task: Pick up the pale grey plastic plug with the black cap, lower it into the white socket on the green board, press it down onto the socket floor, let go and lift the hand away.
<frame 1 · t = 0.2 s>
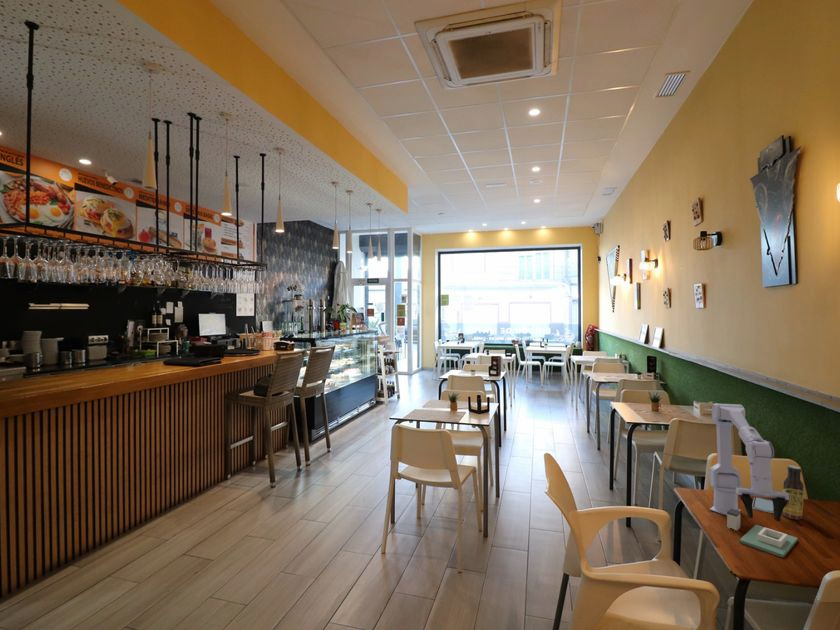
hand: (763, 519, 147), 10 cm above the table, tool pointing down, fingers open, 7 cm apart
plug: (733, 527, 162), on the table
sauce bottle: (792, 517, 171), on the table
smartphone: (764, 506, 182), on the table
socket board: (768, 541, 153), on the table
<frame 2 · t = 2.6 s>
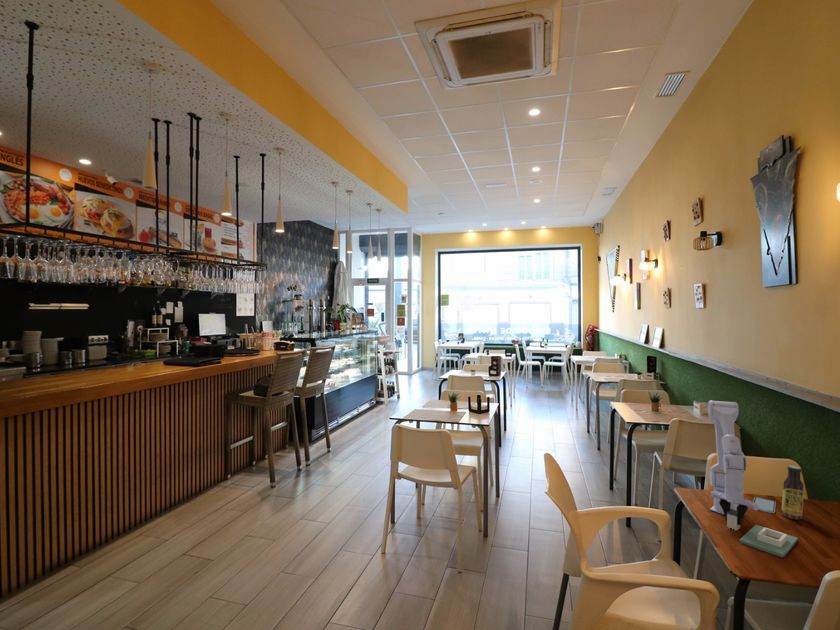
hand: (733, 522, 162), 2 cm above the table, tool pointing down, fingers closed on plug, 3 cm apart
plug: (733, 527, 162), on the table, touching gripper
everything else where it was.
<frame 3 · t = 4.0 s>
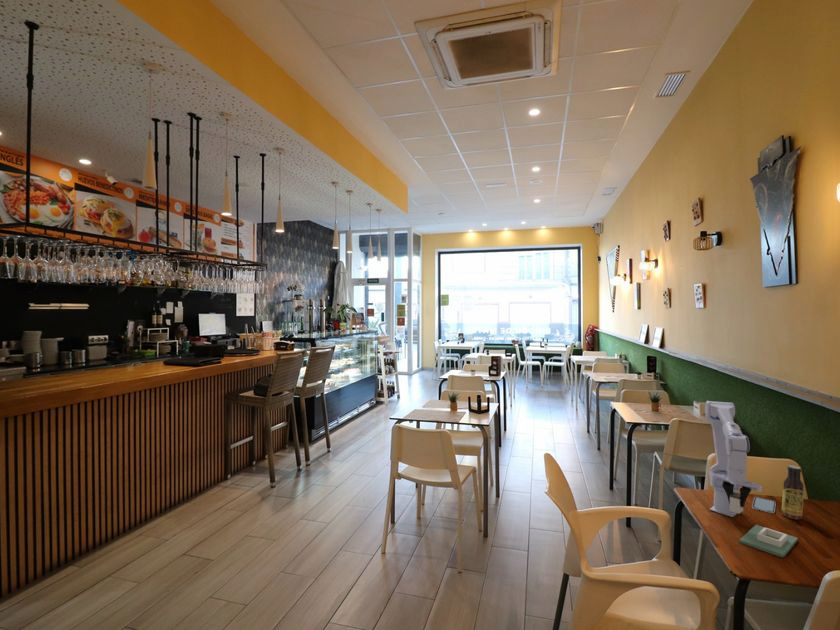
hand: (736, 504, 162), 9 cm above the table, tool pointing down, fingers closed on plug, 3 cm apart
plug: (736, 510, 161), point 7 cm above the table, touching gripper
everything else where it was.
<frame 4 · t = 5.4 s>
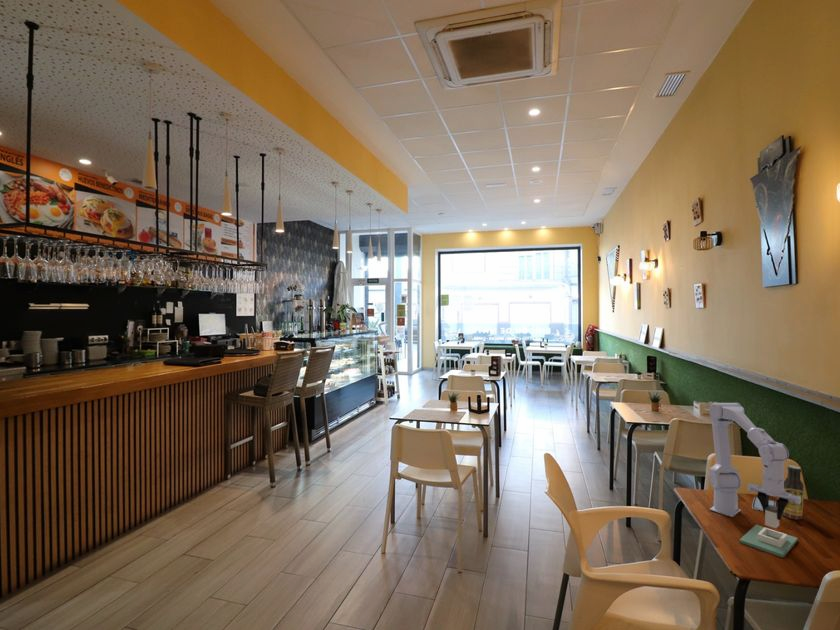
hand: (772, 516, 152), 9 cm above the table, tool pointing down, fingers closed on plug, 3 cm apart
plug: (772, 524, 152), point 6 cm above the table, touching gripper
everything else where it was.
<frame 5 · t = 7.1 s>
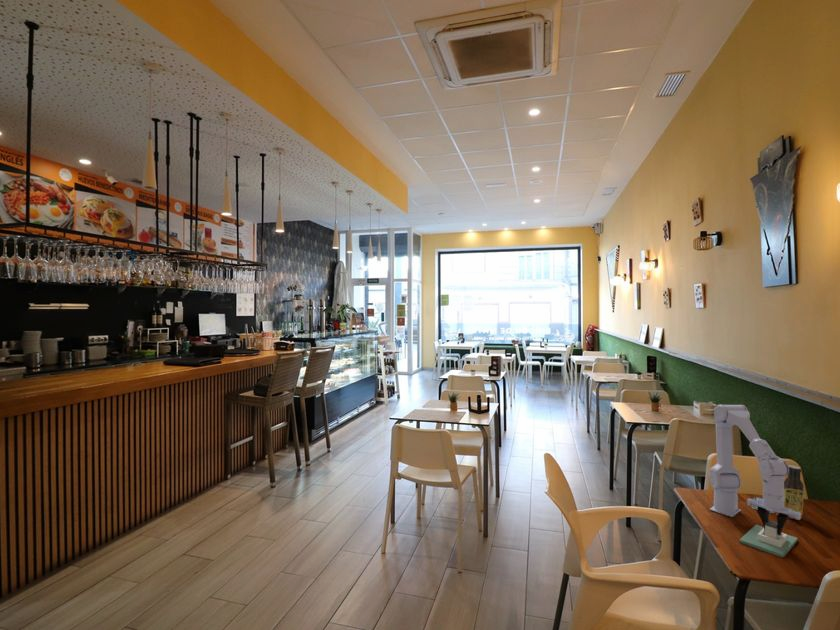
hand: (772, 532, 152), 4 cm above the table, tool pointing down, fingers closed on plug, 3 cm apart
plug: (772, 540, 152), point 1 cm above the table, touching gripper, socket board
everything else where it was.
when the fingers open (4 cm above the table, at t = 8.1 s): plug stays where it is, resting on socket board.
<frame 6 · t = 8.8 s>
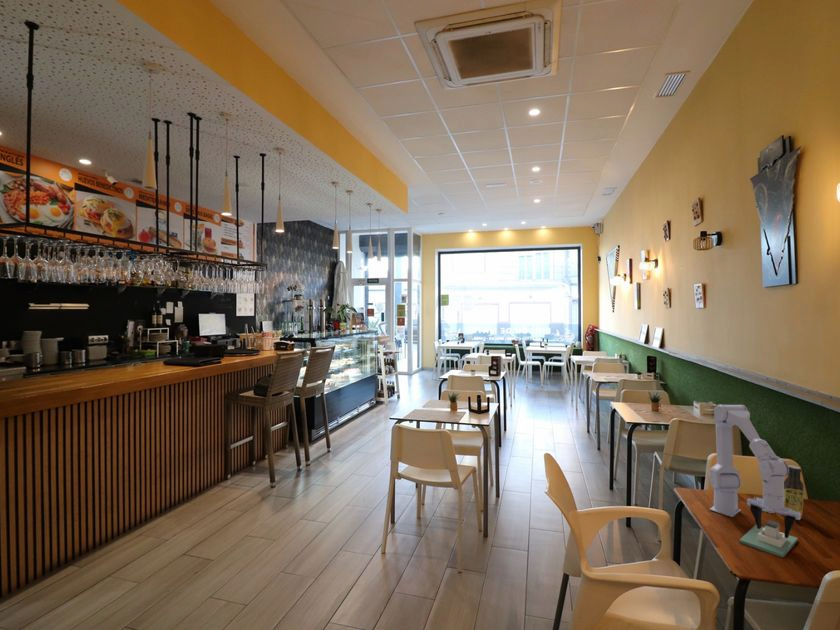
hand: (772, 532, 152), 4 cm above the table, tool pointing down, fingers open, 7 cm apart
plug: (772, 540, 152), point 1 cm above the table, touching socket board
everything else where it was.
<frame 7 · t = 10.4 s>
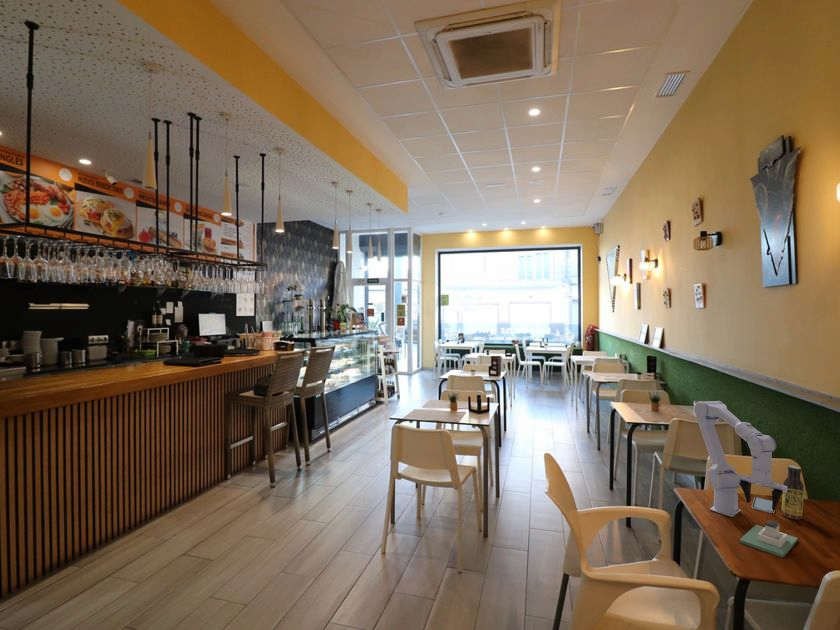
hand: (761, 505, 160), 9 cm above the table, tool pointing down, fingers open, 7 cm apart
nothing on the table moved.
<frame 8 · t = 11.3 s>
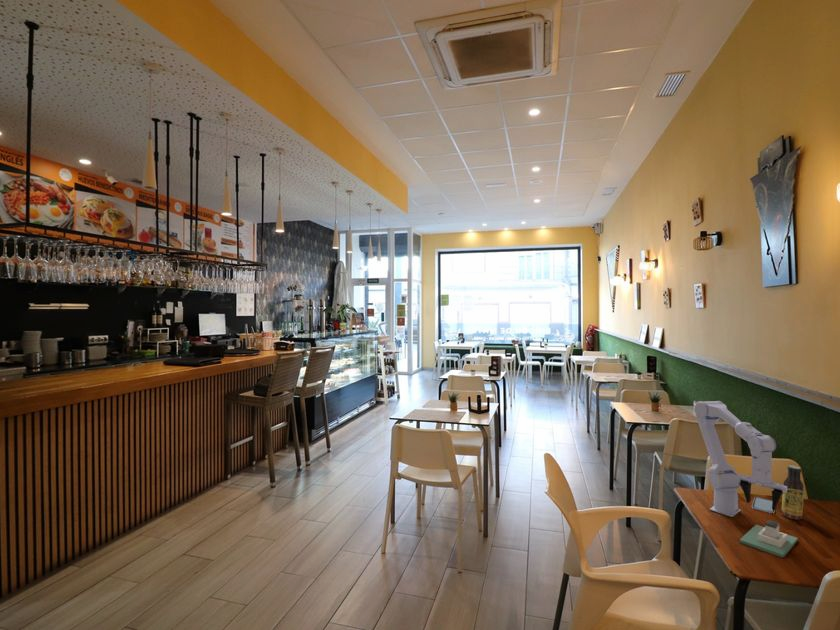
hand: (761, 505, 160), 9 cm above the table, tool pointing down, fingers open, 7 cm apart
nothing on the table moved.
at the end: plug 0.3 cm from the target spot on the socket board, point 1.0 cm above the socket board's base; plug tilted 0°; the gripper is holding nothing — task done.
